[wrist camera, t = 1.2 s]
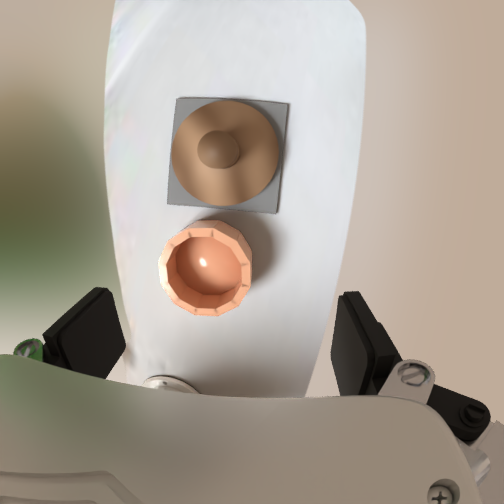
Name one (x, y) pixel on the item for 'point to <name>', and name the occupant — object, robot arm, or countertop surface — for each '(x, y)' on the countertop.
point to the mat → (269, 194)
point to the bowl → (206, 268)
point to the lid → (225, 153)
